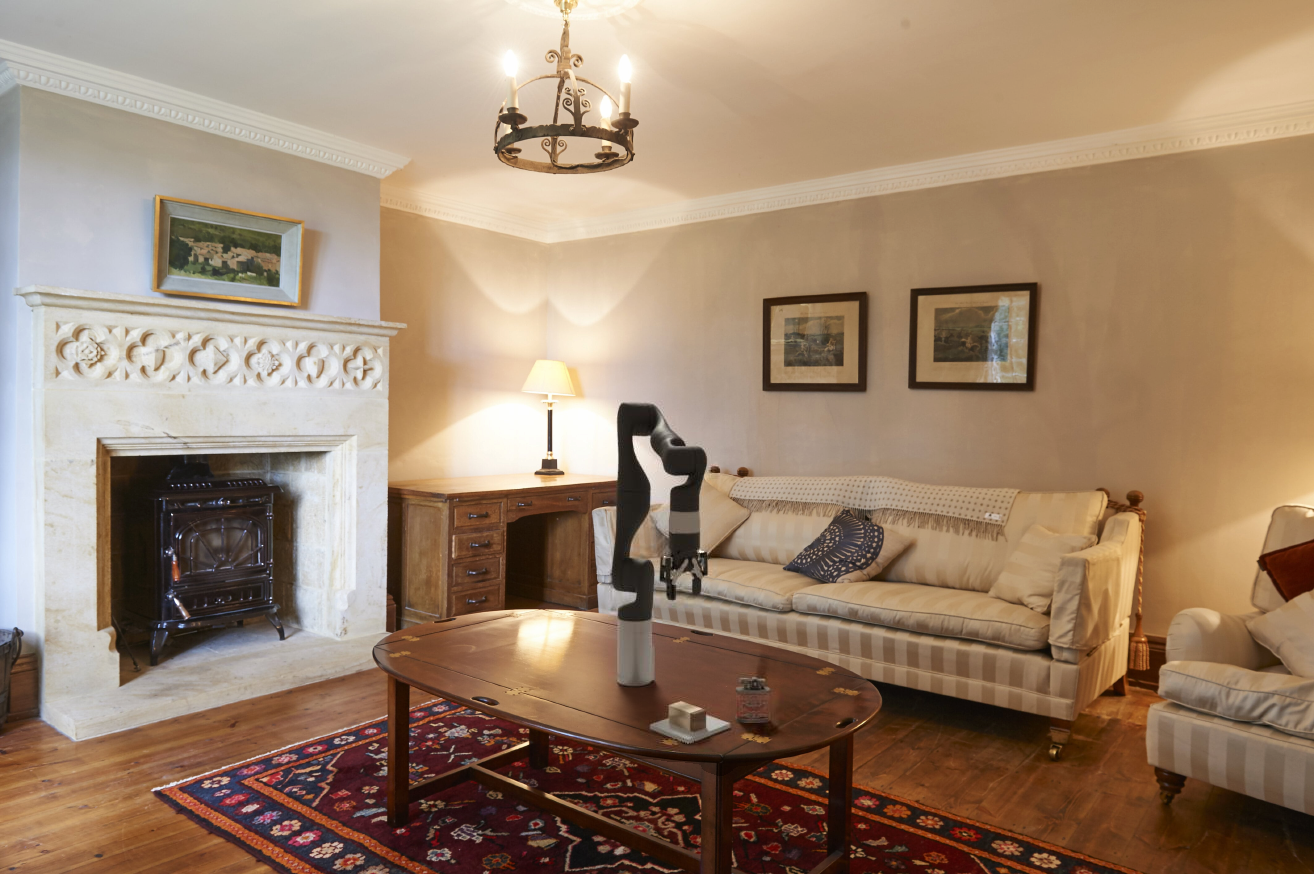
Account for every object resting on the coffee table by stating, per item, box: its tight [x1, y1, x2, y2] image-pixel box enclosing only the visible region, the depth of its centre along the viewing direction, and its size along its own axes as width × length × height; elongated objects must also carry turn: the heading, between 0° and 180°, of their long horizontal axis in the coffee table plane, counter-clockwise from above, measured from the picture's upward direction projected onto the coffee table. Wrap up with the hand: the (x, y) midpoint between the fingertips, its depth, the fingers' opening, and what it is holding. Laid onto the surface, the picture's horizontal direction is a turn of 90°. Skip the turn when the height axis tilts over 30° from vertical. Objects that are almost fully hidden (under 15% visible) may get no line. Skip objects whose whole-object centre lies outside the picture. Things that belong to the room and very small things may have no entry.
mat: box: [649, 714, 731, 745], centre depth 188 cm, size 14×12×1 cm
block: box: [668, 700, 707, 732], centre depth 187 cm, size 8×4×4 cm, turn 44°
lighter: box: [735, 676, 771, 724], centre depth 193 cm, size 8×3×10 cm, turn 92°
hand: (684, 597), depth 196 cm, fingers open, 8 cm apart
